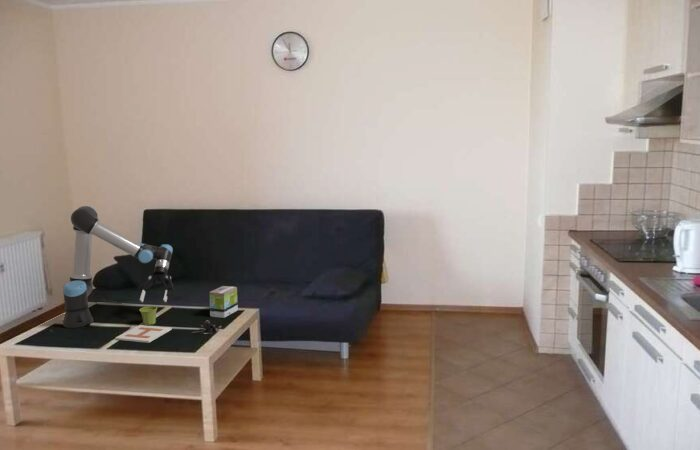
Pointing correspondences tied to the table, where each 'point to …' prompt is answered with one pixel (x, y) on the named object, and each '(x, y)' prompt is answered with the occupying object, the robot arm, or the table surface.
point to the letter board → (143, 333)
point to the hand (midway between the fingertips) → (152, 301)
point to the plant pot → (149, 314)
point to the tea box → (223, 301)
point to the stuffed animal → (208, 328)
